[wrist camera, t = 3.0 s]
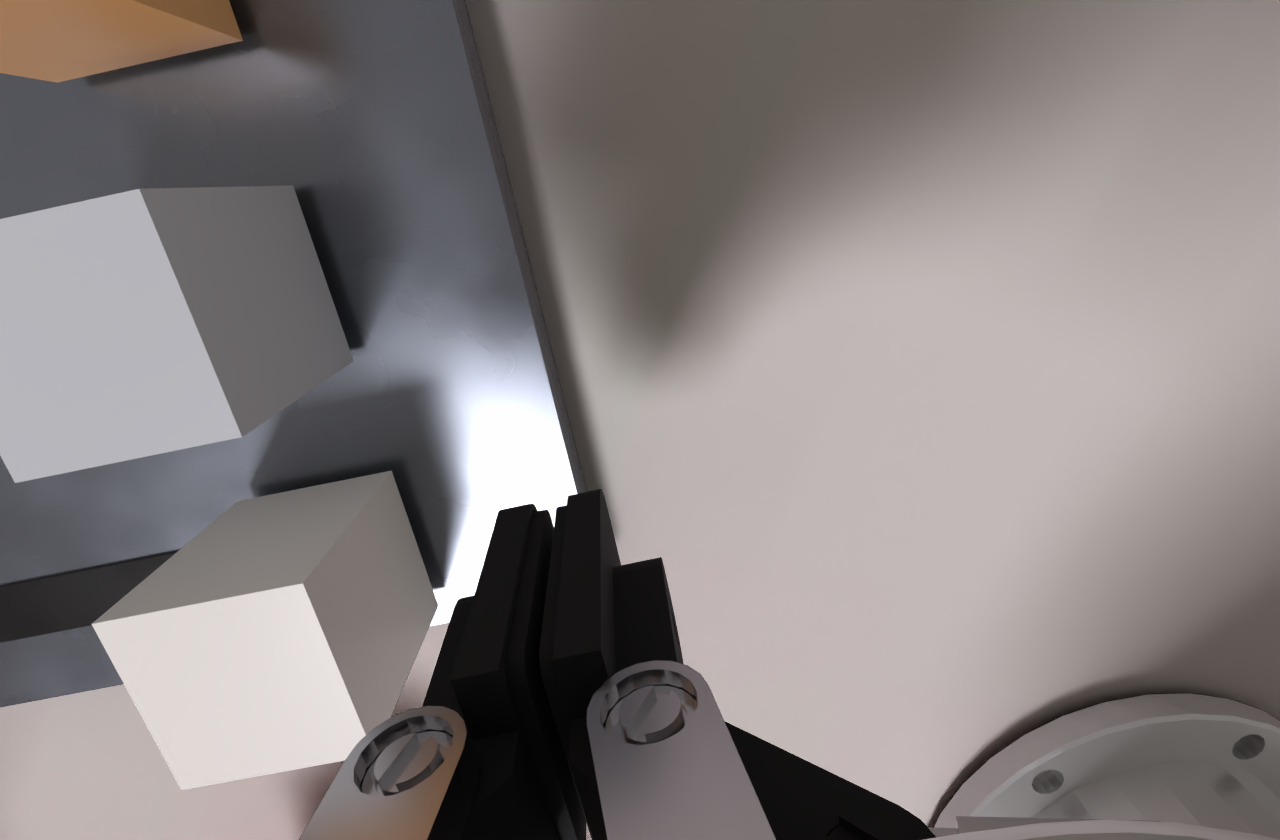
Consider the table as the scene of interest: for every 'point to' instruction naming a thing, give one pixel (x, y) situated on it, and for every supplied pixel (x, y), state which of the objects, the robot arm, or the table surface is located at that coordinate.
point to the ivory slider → (276, 632)
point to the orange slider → (106, 34)
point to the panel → (359, 286)
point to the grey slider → (156, 324)
